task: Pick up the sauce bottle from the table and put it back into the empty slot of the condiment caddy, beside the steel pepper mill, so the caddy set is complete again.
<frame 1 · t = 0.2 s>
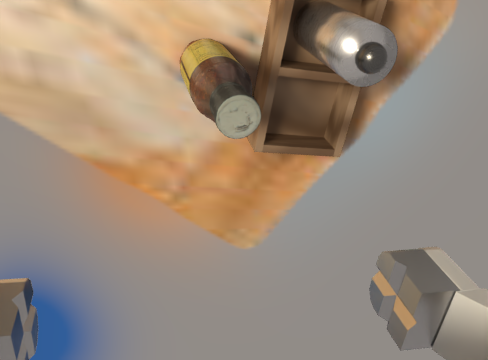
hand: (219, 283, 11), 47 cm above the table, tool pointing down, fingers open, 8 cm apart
sauce bottle: (203, 59, 56), on the table
condiment caddy: (304, 64, 59), on the table
pepper mill: (313, 24, 56), resting on condiment caddy
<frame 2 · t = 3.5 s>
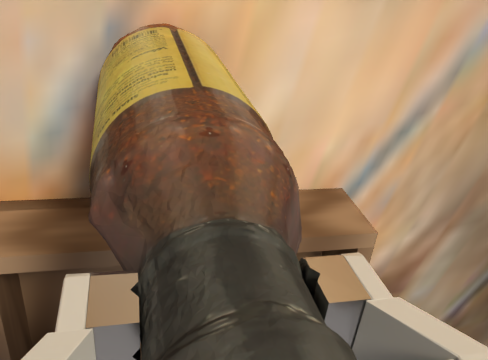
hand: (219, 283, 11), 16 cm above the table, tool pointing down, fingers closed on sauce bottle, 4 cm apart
sauce bottle: (166, 80, 24), on the table, touching gripper
condiment caddy: (180, 271, 30), on the table
when the fingers open (18 cm above the table, at t = 10.1 s): sauce bottle moves 1 cm, resting on condiment caddy.
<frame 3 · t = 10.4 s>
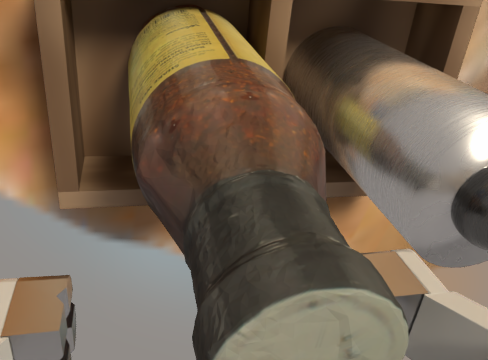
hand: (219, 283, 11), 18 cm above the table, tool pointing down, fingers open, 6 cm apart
sauce bottle: (190, 59, 25), point 1 cm above the table, touching condiment caddy, gripper
condiment caddy: (247, 70, 27), on the table
pepper mill: (325, 72, 28), resting on condiment caddy
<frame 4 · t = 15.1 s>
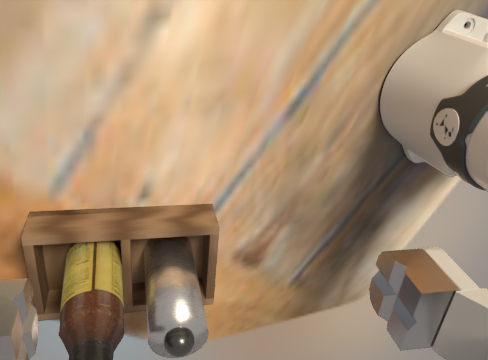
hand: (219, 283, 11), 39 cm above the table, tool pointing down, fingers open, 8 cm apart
sauce bottle: (96, 248, 55), point 1 cm above the table, touching condiment caddy
condiment caddy: (126, 248, 57), on the table
pepper mill: (167, 245, 58), resting on condiment caddy
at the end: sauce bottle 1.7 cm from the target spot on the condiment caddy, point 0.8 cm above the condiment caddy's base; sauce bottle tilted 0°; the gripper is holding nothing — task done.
